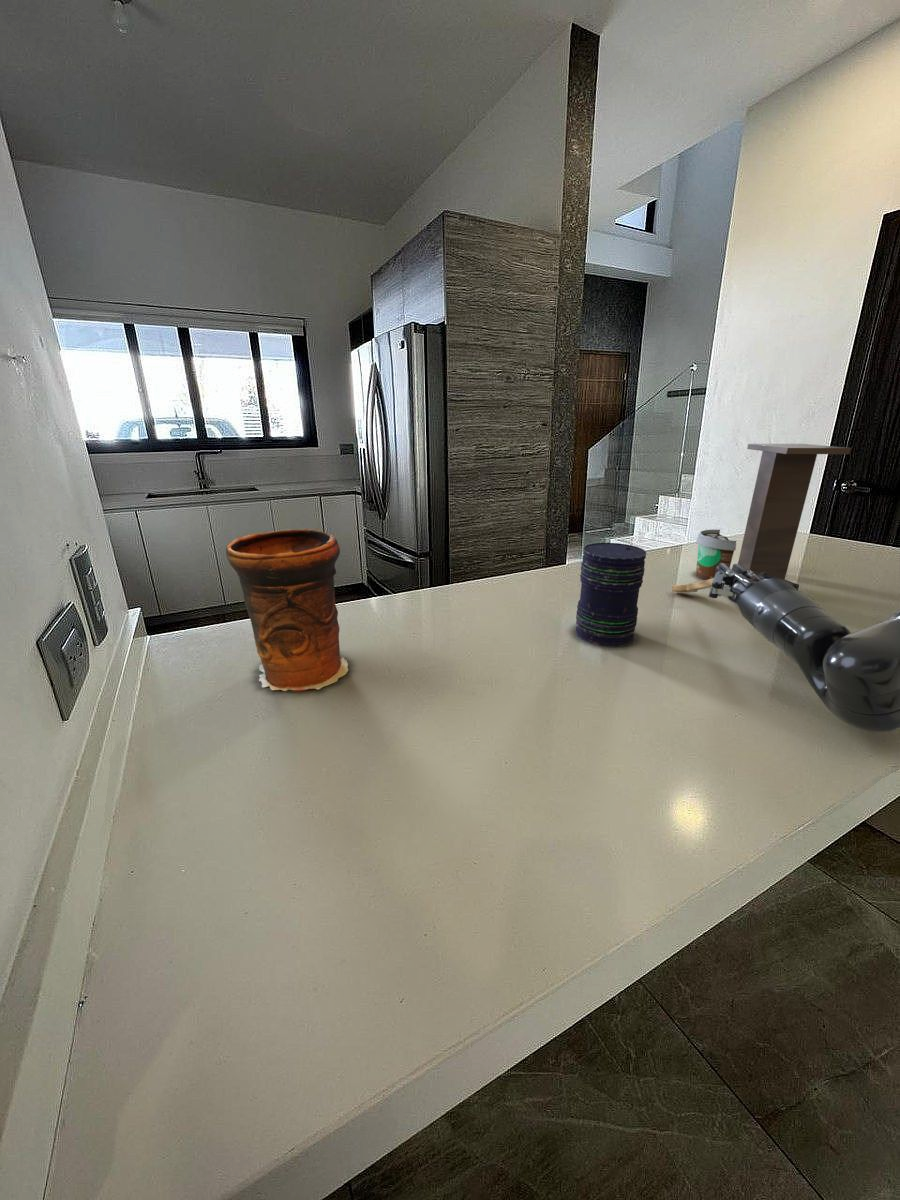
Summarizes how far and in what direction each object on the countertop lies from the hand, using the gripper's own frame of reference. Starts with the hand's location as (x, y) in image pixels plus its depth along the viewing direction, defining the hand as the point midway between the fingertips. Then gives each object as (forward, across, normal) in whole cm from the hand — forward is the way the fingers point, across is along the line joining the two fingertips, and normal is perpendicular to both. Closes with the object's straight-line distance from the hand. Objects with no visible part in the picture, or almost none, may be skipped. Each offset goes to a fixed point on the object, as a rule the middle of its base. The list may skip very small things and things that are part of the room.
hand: (727, 569), depth 82 cm
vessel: (-22, -68, -9) cm, 73 cm away
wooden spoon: (+6, 0, -6) cm, 9 cm away
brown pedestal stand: (+12, +14, -11) cm, 22 cm away
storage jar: (-6, -21, -10) cm, 24 cm away
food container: (+28, +10, -13) cm, 32 cm away
